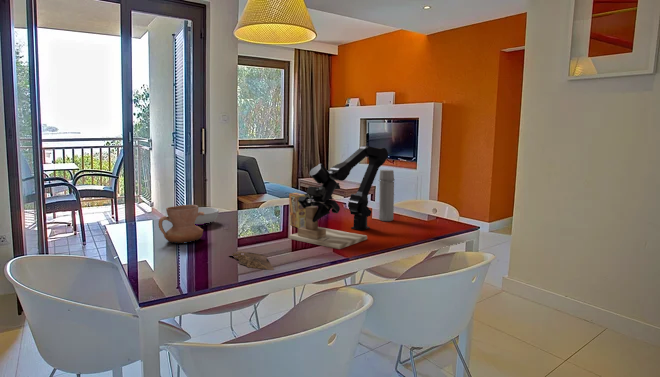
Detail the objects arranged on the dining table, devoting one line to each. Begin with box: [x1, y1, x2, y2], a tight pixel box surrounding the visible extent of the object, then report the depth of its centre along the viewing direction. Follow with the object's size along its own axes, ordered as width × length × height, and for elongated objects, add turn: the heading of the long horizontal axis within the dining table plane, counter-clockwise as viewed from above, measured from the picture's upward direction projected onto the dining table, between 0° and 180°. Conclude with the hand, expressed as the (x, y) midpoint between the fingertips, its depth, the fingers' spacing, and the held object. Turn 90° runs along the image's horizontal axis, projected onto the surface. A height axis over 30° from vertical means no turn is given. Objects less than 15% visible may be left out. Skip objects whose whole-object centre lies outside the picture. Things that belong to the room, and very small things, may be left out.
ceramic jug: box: [157, 204, 204, 244], centre depth 172 cm, size 18×14×14 cm
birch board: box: [288, 226, 368, 250], centre depth 176 cm, size 19×26×2 cm
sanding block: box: [297, 206, 326, 239], centre depth 174 cm, size 6×10×12 cm, turn 52°
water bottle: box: [378, 169, 395, 222], centre depth 210 cm, size 9×8×25 cm
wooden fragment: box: [231, 250, 275, 271], centre depth 147 cm, size 26×11×1 cm, turn 34°
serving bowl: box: [194, 206, 220, 224], centre depth 203 cm, size 21×21×7 cm
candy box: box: [288, 192, 306, 229], centre depth 199 cm, size 9×4×15 cm, turn 33°
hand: (309, 221), depth 173 cm, fingers closed on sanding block, 3 cm apart
